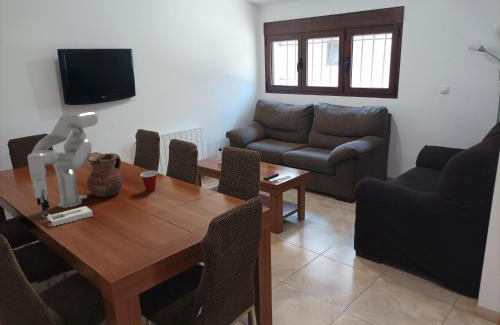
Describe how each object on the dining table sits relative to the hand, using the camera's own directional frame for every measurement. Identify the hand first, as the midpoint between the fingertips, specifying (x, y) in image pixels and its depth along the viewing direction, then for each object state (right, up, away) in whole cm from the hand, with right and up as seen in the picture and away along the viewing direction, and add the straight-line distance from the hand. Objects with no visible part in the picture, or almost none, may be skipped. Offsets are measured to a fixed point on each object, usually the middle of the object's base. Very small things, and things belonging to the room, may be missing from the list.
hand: (43, 206), depth 201 cm
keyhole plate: (+15, -6, -1) cm, 16 cm away
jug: (+20, +4, +38) cm, 43 cm away
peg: (0, -6, +2) cm, 6 cm away
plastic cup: (+47, +5, +42) cm, 63 cm away
